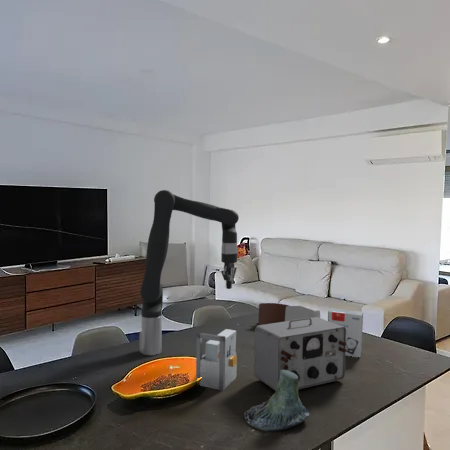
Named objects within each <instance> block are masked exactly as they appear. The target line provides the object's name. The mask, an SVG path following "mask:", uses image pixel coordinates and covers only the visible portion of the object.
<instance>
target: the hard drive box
mask: <svg viewBox="0 0 450 450" xmlns="http://www.w3.org/2000/svg"><path fill="white" fill-rule="evenodd" d="M327 321H329V322H332V323H335V324H337V325H340V326H343V327H345V328H346V352H345V357H346V356H347V357H350V356H352V357H351V358H358V357H359V358H358V359H360V358H361V356H362V353H361V352H362V349H363V346H362V345H363V328H364V327H363V325H364V311H360V310H354V309H353V310H351V309H344V308H343V309H342V308H335V307H334V308H333V307H330V308H329V310H327Z"/></svg>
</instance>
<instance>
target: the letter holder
mask: <svg viewBox="0 0 450 450" xmlns="http://www.w3.org/2000/svg"><path fill="white" fill-rule="evenodd" d="M287 306H290V305H289V304H285V303H278V302H277V303H276V302H263V303H262V302H261V303H259V305H258V323H257V326H258V325H264V324H271V323H278V322H285V312H286V307H287Z"/></svg>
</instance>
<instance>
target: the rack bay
mask: <svg viewBox="0 0 450 450" xmlns="http://www.w3.org/2000/svg"><path fill="white" fill-rule="evenodd" d="M203 340H207V341H209V340H214V341H220V348H219V362H216V361H211V360H206V359H205V353H204V354H203ZM195 342H196V349H195V350H196V351H195V352H196V353H195V354H196V356H195V358H196V359H195V363H196V365H195V368H196V369H195V380H196V379H197V378H200V377H202V380H201V381H200V382H199V385H200V386H201V387H205V388H210V389H214V390H219V391H224V390H226V389H227V387H228V386H229V385H230V384H231V383H232V382H233V381H234V380H236V378H237V372H238V371H237V368H238V367H237V366H238V365H237V364H238V354H237V353H238V352H236V351H235V352H234V353H233V354H231V355H230V356H229V357H228V358H226V359H225V336H219V335H218V334H211V333H205V332H199V331H198V332H196V340H195ZM200 386H199V387H200Z"/></svg>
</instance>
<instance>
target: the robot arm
mask: <svg viewBox="0 0 450 450" xmlns="http://www.w3.org/2000/svg"><path fill="white" fill-rule="evenodd" d="M153 202H154V213H153V221H152V225H151V228H150V232H149V235H148V241H147V247H146V257H145V269H144V274H143V280H142V282H141V288H140V290H139V291H140V292H139V294H140V298H141V299H142V306H141V313H140V314H141V319H140V321H141V325H140V326H141V327H140V328H141V329H140V330H141V331H139V353H141V354H142V355H144V356H156V354H157V355H159V354H161V353H162V348H163V347H162V344H163V343H162V339H163V338H162V336H163V335H162V333H163V332H162V331H163V329H162V326H163V325H162V324H163V323H162V319H163V316H162V313H163V305H164V304H163V301H164V300H163V297H164V295H163V293H164V292H163V291H164V289H163V286H162V284H161V277H162V271H163V268H164V265H165V262H166V258H167V255H168V249H169V242H170V229H171V228H170V224H171V218H172V214H173V211H178V212H181V213H182V212H183V213H185V214H189V215H191V216H195V217H197V218H202V219H204V220H208V221H215V222H219V223H220V224H221V229H222V233H221V234H222V235H221V236H222V237H221V251H220V252H221V253H220V254H221V257H220V258H221V261H220V262H221V263H223V270H221V275H222V278H223V280H224V281H226V282H225V284H226V286H225V288H226V289H227V290H231V289H232V288H233V287H232V286H233V280H234V279H235V276H236V272H237V269H238V268H237V267H235V263H236V264H237V262H238V233H237V230H236V224H237V223H238V222H239V214H238V212H237V211H235V210H233V209H229V208H224V207H220V206H216V205H213V204H209V203H205V202H201V201H196V200H191V199H186V198H184V197H181V196H178V195H176V194H173V192H171V191H170V190H168V189H163V190H159V191H158V192H157V193H156V194H155V195H154V198H153Z"/></svg>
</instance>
